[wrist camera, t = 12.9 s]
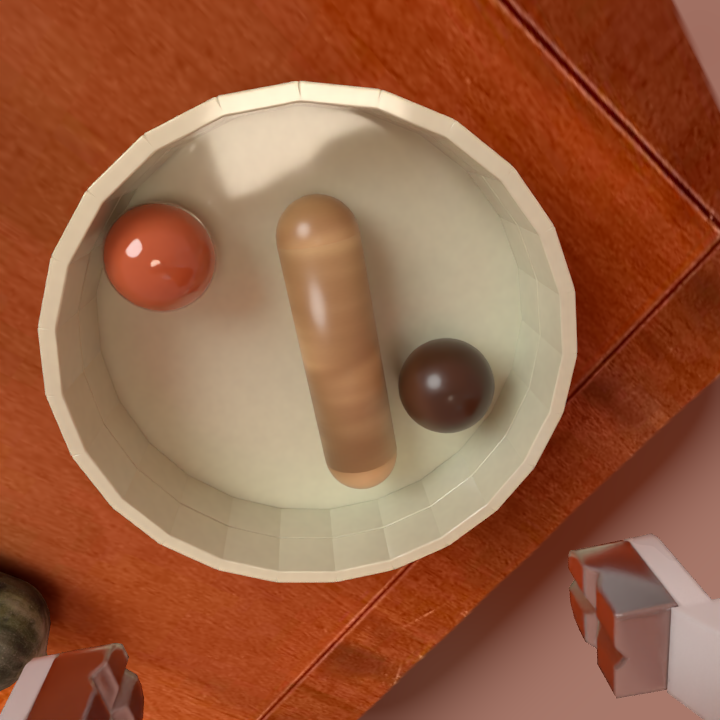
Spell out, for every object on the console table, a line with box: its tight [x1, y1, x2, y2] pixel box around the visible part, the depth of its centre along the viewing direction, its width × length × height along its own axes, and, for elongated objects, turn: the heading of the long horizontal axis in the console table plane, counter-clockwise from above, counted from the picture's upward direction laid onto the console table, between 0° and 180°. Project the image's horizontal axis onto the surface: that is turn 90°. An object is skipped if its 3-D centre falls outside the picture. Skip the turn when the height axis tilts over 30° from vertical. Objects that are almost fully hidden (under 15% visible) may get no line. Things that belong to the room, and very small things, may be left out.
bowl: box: [38, 81, 577, 582], centre depth 24 cm, size 19×19×5 cm
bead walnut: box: [398, 338, 495, 433], centre depth 25 cm, size 4×4×4 cm
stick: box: [276, 194, 397, 489], centre depth 24 cm, size 13×3×3 cm
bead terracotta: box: [101, 202, 217, 313], centre depth 22 cm, size 4×4×4 cm
